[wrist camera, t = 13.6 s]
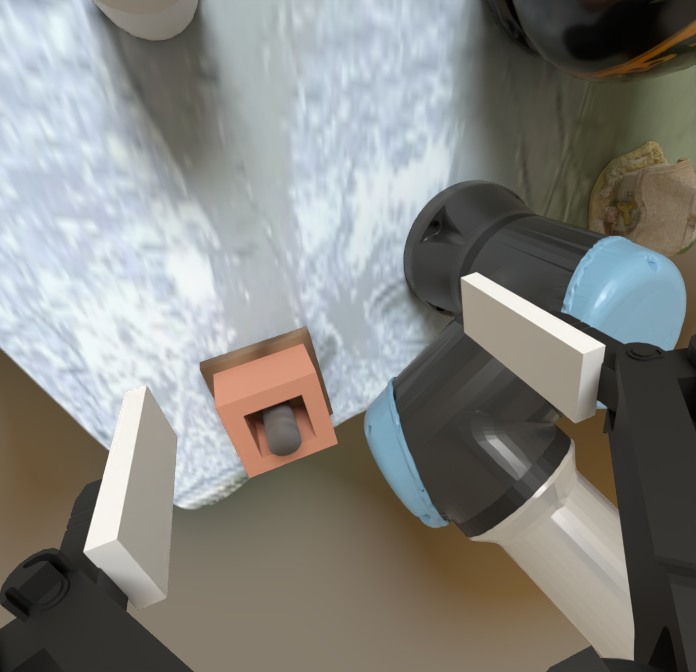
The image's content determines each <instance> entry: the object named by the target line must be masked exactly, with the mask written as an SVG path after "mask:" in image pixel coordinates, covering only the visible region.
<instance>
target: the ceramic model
mask: <svg viewBox="0 0 696 672" xmlns="http://www.w3.org/2000/svg"><path fill="white" fill-rule="evenodd" d="M692 164H693V163H692V162H691V160H690V159H687V158H682V159H679V160H678V163H677V164H670V163H668V162H667V160H666V159H665V156H664V154H663V152H662V148H661V147H660V145H659V144H658V143H656V142H654V141H648V142H647V143H646V144H644V145H643V146H642V147H640V148H638V149H636V150H634V151H632V152H630V153H628V154H625V155H622V156H619V157H617V158H615V159H613V160H611V161H610V162H609V164H608V165H607V166H606V167H605V168H604V169H603V171H602V172H601V174H600V176H599V178H598V180H597V181H596V183H595V185H594V187H593V190H592V192H591V195H590V204H589V218H588V230H592V231H595V232H599V233H603V234H606V235H610V236H621V237H624V238H626V239H628V240H630V241H631V242H632V243H635V244H637V245H640V246H642V247H645V248H647V249H650V250H652V251H655V252H657V253H660V254H662V255H663V256H665V257H668V256H672V255H674V254H677V253H678V252H679V251H680V250H681V249H683V248H685V247H687V246H689V245H690V242H691V240H692V237H693V232H694V229H695V225H696V174H695V172H694V170H693V167H692Z"/></svg>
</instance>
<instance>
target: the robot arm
mask: <svg viewBox="0 0 696 672" xmlns="http://www.w3.org/2000/svg"><path fill="white" fill-rule="evenodd" d="M404 269H405V274H406V278H407V281H408V283H409V286H410V288H411V289H412V291H413V292H414V294H415V295H416V296H417V297H418V298H419V299H420V300H421V301H422V302H424V303H425V304H426V305H427V306H428V307H430V308H431V309H433V310H435V311H436V312H439V313H441V314H444V315H447V316H453V317H456V318H455V319H454V320H452V321H451V322H450V323H449V324H448V325H447V326H446V327H445V329H444V330H443V331H442V332H441V333H440V334H439V335H438V336H437V337H436V338H435V339H434V340H433V341H432V342H431V343H430V344H429V345H428V346H427V347H426V348H425V349H424V350H423V351H422V352H421V353H420V354H419V355H418V356H417V357H416V358H415V359H414V360H413V361H412V362H411V363H410V364H409V365H408V366H407V367H406V368H405V369H404V370H403V371H402V372H401V373H400V374H399V375H398V376H397V377H393V378H392V379H391V380H390V381H389V383H388V386H387V387H386V388H385V389H384V390H383V392H382V393H381V394H380V395H379V396H378V397H377V398H376V399H375V401H374V402H373V403H372V404H371V405H370V406H369V408H368V410H367V412H366V414H365V418H364V430H365V435H366V438H367V441H368V445H369V448H370V451H371V452H372V455H373V457H374V459H375V461H376V463H377V465H378V467H379V469H380V471H381V472H382V474H383V476H384V477H385V479H386V480H387V482H388V483H389V485H390V487H392V489H393V490H394V492H395V494H396V495H397V496H398V497H399V499H400V500H401V501H402V503H403V504H404V505H405V506H406V507H407V508H408V509H409V511H410V512H411V513H413V514H414V515H415V516H419V518H420V519H421V521H422V522H423V523H424V524H426V525H427V526H429V527H433V528H438V527H441V526H447V525H448V524H449V523H450V521H453V522H454V523H455V524H456V525H457V526H458V527H459V528H460V529H461V531H462V532H463V533H464V534H465V535H466V536H467V537H468V538H469V539H470V540H472V541H482V542H494V543H497V544H499V545H500V546H501V547H502V548H503V549H504V550H505V551H506V552H507V553H508V554H509V555H510V556H511V557H512V558H513V560H514V561H515V562H516V563H517V564H518V565H519V566H520V567H521V568H522V569H523V570H524V571H525V572H526V574H527V575H528V576H529V577H530V578H531V579H532V580H533V581H534V582H535V583H536V584H537V586H539V588H540V589H541V590H542V591H543V592H544V593H545V594H546V595H547V596H548V597H549V599H551V601H552V602H553V603H554V604H555V605H556V606H557V607H558V608H559V609H560V610H561V611H562V612H563V614H564V615H565V616H566V617H567V618H568V619H569V620H570V621H571V622H572V623H573V624H574V626H575V627H576V628H577V629H578V630H579V631H580V632H581V633H582V634H583V635H584V636H585V637H586V639H588V641H589V642H590V643H591V644H592V645H593V646H594V647H595V648H596V649H597V650H598V651H599V652H600V653H601V655H602V656H603V657H604V658H600V657H599V655H598V654H597V652H596V651H595V650H594V648H593V647H592V646H590V647H588V648H586V649H584V650H582V651H580V652H578V653H576V654H574V655H573V656H571V657H569V658H567V659H565V660H564V661H561V662H560V663H558V664H556V665H554V666H552V667H550V668H549V669H548V671H547V672H696V334H695V335H693V336H692V337H691V339H690V342H689V346H688V348H684V349H677V350H673V349H674V346H675V345H676V342H677V340H678V337H679V335H680V331H681V327H682V324H683V321H684V317H685V310H686V291H685V285H684V281H683V279H682V276H681V274H680V272H679V270H678V269H677V268H676V266H675V265H674V264H673V263H672V262H671V261H670V260H669V259H668V258H666V257H665V256H663V255H662V254H660V253H657V252H655V251H652V250H650V249H647V248H645V247H642V246H640V245H637V244H635V243H632V242H631V241H630V240H628V239H626V238H624V237H621V236H610V235H606V234H603V233H599V232H595V231H592V230H588V229H585V228H581V227H578V226H574V225H571V224H567V223H564V222H560V221H557V220H553V219H549V218H546V217H542V216H539V215H536V214H535V213H534V212H533V211H531V210H530V209H529V208H528V207H527V206H526V205H525V203H524V202H523V201H522V200H521V199H520V198H519V197H518V195H516V194H515V193H514V192H513V191H511V190H509V189H508V188H506V187H503V186H501V185H498V184H494V183H490V182H485V181H466V182H462V183H458V184H455V185H453V186H451V187H449V188H447V189H445V190H443V191H442V192H440V193H439V194H438V195H436V196H435V197H434V198H433V199H432V200H431V201H430V202H429V203H428V204H427V205H426V206H425V207H424V208H423V209H422V211H421V212H420V213H419V215H418V216H417V218H416V220H415V221H414V223H413V225H412V227H411V229H410V232H409V235H408V238H407V241H406V245H405V251H404ZM596 409H607V412H606V418H605V424H604V431H603V433H607V432H608V435H609V442H610V450H611V457H612V464H613V472H614V479H615V487H616V494H617V501H618V509H619V510H618V509H617V508H616V507H615V506H614V505H613V504H612V503H611V502H610V501H608V500H607V499H606V498H605V497H604V496H603V495H602V494H601V493H600V492H599V491H598V490H597V489H596V488H595V487H594V486H593V485H592V484H591V483H589V482H588V481H587V480H586V479H585V478H584V477H583V476H582V475H581V474H580V473H579V472H578V471H577V469H576V466H575V446H574V442H573V440H572V439H571V438H570V437H569V436H568V435H566V434H565V433H564V432H563V431H562V430H561V429H560V428H559V427H558V426H557V425H556V422H557V421H558V420H559V419H560V418H561V417H562V416H563V415H564V414H565V415H566V416H567V417H568V418H570V419H571V420H572V421H573V422H574V423H577V422H580V421H582V420H585V419H587V418H589V417H591V416H593V415H595V413H596ZM176 451H177V436H176V434H175V432H174V431H173V429H172V427H171V426H170V424H169V422H168V420H167V419H166V417H165V415H164V414H163V412H162V410H161V408H160V407H159V405H158V403H157V402H156V400H155V398H154V397H153V395H152V393H151V391H150V390H149V388H148V386H147V385H145V386H142V387H139V388H136V389H133V390H130V391H127V392H125V396H124V400H123V404H122V407H121V411H120V415H119V419H118V423H117V426H116V430H115V434H114V438H113V442H112V445H111V449H110V453H109V457H108V461H107V464H106V468H105V472H104V476H103V479H100V480H97V481H95V482H92V483H89V484H87V485H86V486H85V487H84V489H83V490H82V492H81V493H80V495H79V496H78V497H77V499H76V500H75V503H74V506H73V509H72V513H71V518H70V519H69V522H68V525H67V531H66V532H65V534H64V538H63V541H62V544H61V547H60V550H58V549H55V548H50V549H44V550H42V551H40V552H37V553H35V554H33V555H31V556H30V557H29V558H27V559H26V560H25V561H23V562H22V563H20V564H19V565H18V567H16V569H15V570H14V571H13V572H12V573H11V574H10V575H9V576H8V578H7V580H6V581H5V582H4V584H3V586H2V588H1V591H0V604H1V605H2V606H3V607H5V608H6V609H7V610H8V611H10V612H11V613H12V614H13V615H15V616H16V617H17V618H16V619H14V620H13V621H11V622H10V623H8V624H7V625H5V626H4V627H3V628H1V629H0V672H193V671H192V670H191V669H190V668H189V667H188V666H187V665H186V664H184V663H183V662H182V661H181V660H180V659H179V658H178V657H177V656H176V655H175V654H173V653H172V652H171V651H170V650H169V649H168V648H167V647H165V646H164V645H163V644H162V643H161V642H160V641H159V640H158V639H157V638H155V637H154V636H153V635H152V634H151V633H150V632H149V631H148V630H147V629H145V628H144V627H143V626H142V625H141V624H140V623H139V622H138V621H137V620H135V619H134V618H133V617H132V616H131V615H130V614H129V613H128V612H127V611H126V610H127V602H128V600H129V601H130V602H131V603H132V604H133V605H134V606H135V607H136V608H137V609H138V610H139V609H141V608H144V607H146V606H149V605H151V604H154V603H156V602H158V601H160V600H163V599H165V598H167V586H168V571H169V556H170V541H171V526H172V511H173V496H174V481H175V466H176Z"/></svg>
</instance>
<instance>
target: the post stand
mask: <svg viewBox="0 0 696 672" xmlns="http://www.w3.org/2000/svg"><path fill="white" fill-rule="evenodd" d="M300 344H304V346H305V349H306V351H307V353H308V355H309V357H310V360H311V362H312V364H313V366H314V368H315V371H316V373H317V376H318V380H319V383H320V386H321V390H322V393H323V396H324V399H325V403H326V406H327V409H328V413H329V415H331V414H333V411H332V408H331V405H330V401H329V398H328V395H327V391H326V388H325V385H324V381H323V378H322V374H321V371H320V368H319V364H318V361H317V358H316V354H315V351H314V348H313V344H312V341H311V337H310V334H309V331H308V329H307V327H303V328H300V329H297V330H294V331H291V332H288V333H285V334H282V335H280V336H277V337H274V338H271V339H268V340H265V341H262V342H259V343H256V344H253V345H250V346H247V347H244V348H241V349H238V350H235V351H232V352H229V353H226V354H223V355H220V356H218V357H215V358H212V359H209V360H206V361H203V362H200V371H201V373H202V375H203V377H204V379H205V381H206V383H207V385H208V387H209V389H210V392H211V394H212V396H213V398H214V400H215V394H214V376H213V374H216V373H219V372H222V371H225V370H227V369H230V368H233V367H236V366H239V365H242V364H245V363H248V362H251V361H254V360H256V359H259V358H262V357H265V356H268V355H271V354H274V353H277V352H280V351H283V350H285V349H288V348H291V347H294V346H297V345H300ZM301 405H304V402H303V399H302V396H301V395H300V396H297V397H294V398H291V399H289V400H286V401H283V402H280V403H278V404H275V405H272V406H269V407H267V408H264V409H261V410H259V411H256V412H253V413H252V415H253V418H254V420H255V422H258V421H260V420H263V422H264V427H265V432H266V436H267V441H268V446H269V449H270V451H271V452H272V453H273V454H275V455H277V456H287V455H290V454H292V453H294V452H295V451H297V450H298V449H299V447H300V445H301V442H302V439H301V435H300V432H299V429H298V426H297V423H296V420H295V416H294V413H293V410H292V409H293V408H296V407H298V406H301Z"/></svg>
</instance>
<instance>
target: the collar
mask: <svg viewBox="0 0 696 672" xmlns="http://www.w3.org/2000/svg"><path fill="white" fill-rule="evenodd" d="M213 376H214V394H215V409H216V411H217V413H218V415H219V417H220V419H221V421H222V423H223V425H224V427H225V429H226V431H227V433H228V435H229V437H230V439H231V441H232V443H233V445H234V447H235V449H236V451H237V453H238V455H239V457H240V459H241V461H242V463H243V465H244V467H245V469H246V471H247V474H248V476H249V478H251V477H254V476H256V475H259V474H261V473H264V472H266V471H269V470H272V469H274V468H277V467H279V466H282V465H284V464H287V463H289V462H292V461H294V460H297V459H300V458H302V457H305V456H307V455H310V454H312V453H315V452H317V451H320V450H322V449H325V448H328V447H330V446H333V445H335V444H337V439H336V436H335V433H334V429H333V426H332V422H331V419H330V416H329V413H328V409H327V406H326V403H325V399H324V396H323V393H322V390H321V386H320V383H319V380H318V376H317V373H316V371H315V368H314V366H313V364H312V362H311V360H310V357H309V355H308V353H307V351H306V349H305V346H304V344H300V345H297V346H294V347H291V348H288V349H285V350H283V351H280V352H277V353H274V354H271V355H268V356H265V357H262V358H259V359H256V360H254V361H251V362H248V363H245V364H242V365H239V366H236V367H233V368H230V369H227V370H225V371H222V372H219V373H216V374H213ZM300 395H301V396H302V399H303V402H304V405H301V406H298V407H296V408H293V409H292V410H293V413H294V416H295V420H296V423H297V426H298V429H299V432H300V435H301V439H302V442H301V445H300V447H299V449H298V450H297V451H295V452H294V453H292V454H290V455H287V456H277V455H275V454H273V453H272V452H271V451H270V449H269V446H268V441H267V436H266V432H265V427H264V422H263V420H260V421H258V422H255V420H254V418H253V415H252V413H253V412H256V411H259V410H261V409H264V408H267V407H269V406H272V405H275V404H278V403H280V402H283V401H286V400H289V399H291V398H294V397H297V396H300Z"/></svg>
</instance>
